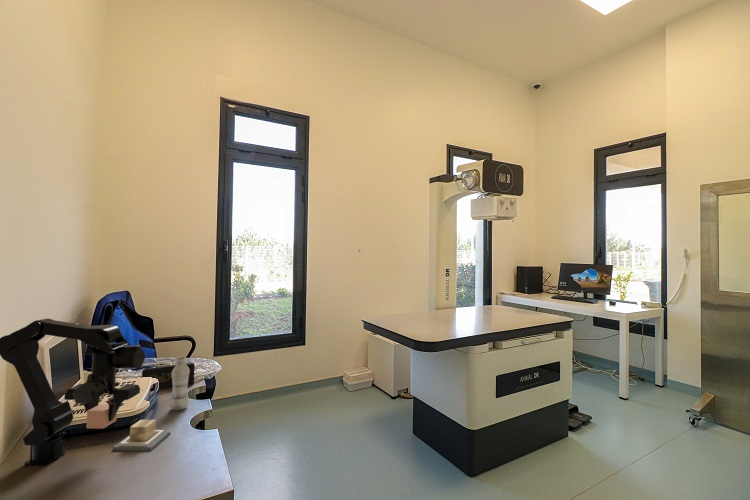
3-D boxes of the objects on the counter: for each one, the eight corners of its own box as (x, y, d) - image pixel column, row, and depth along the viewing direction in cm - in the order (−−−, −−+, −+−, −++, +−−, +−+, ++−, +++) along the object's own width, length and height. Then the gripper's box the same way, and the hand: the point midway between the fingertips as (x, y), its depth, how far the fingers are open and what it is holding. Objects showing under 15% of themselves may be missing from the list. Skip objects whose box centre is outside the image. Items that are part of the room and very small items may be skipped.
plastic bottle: (167, 413, 132) (169, 361, 133) (172, 406, 139) (174, 356, 139) (186, 411, 134) (187, 360, 135) (190, 404, 140) (192, 355, 141)
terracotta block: (86, 428, 100) (87, 410, 100) (100, 420, 105) (100, 403, 105) (103, 428, 100) (104, 411, 100) (116, 420, 105) (117, 404, 105)
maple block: (129, 442, 109) (130, 426, 109) (140, 434, 114) (140, 419, 114) (145, 442, 109) (146, 427, 109) (155, 435, 114) (155, 419, 114)
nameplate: (193, 383, 165) (194, 362, 165) (193, 384, 163) (194, 363, 164) (141, 391, 154) (142, 368, 154) (141, 392, 153) (142, 370, 153)
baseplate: (112, 450, 106) (112, 444, 106) (134, 434, 116) (134, 428, 116) (151, 450, 106) (151, 444, 107) (170, 434, 116) (170, 429, 117)
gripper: (47, 376, 95) (45, 433, 94) (114, 377, 95) (112, 434, 94) (81, 364, 106) (79, 415, 105) (142, 365, 106) (140, 416, 106)
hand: (102, 420), depth 102 cm, fingers closed on terracotta block, 5 cm apart
